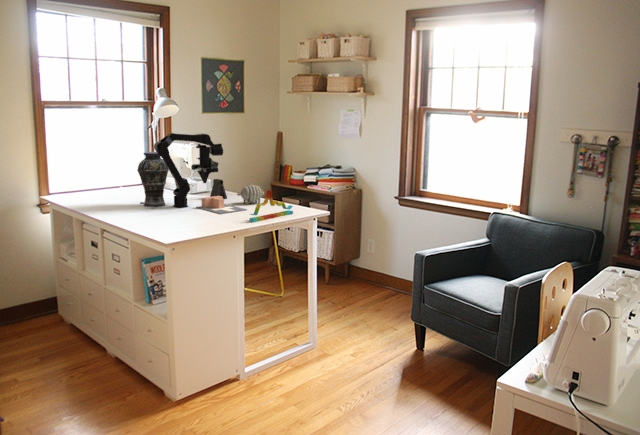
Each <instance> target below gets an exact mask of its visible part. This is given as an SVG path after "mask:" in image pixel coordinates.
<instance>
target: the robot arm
mask: <svg viewBox="0 0 640 435" xmlns="http://www.w3.org/2000/svg"><path fill="white" fill-rule="evenodd" d="M174 141H180V142H181V141H182V142H195V143H197V145H196V146H195V148H196V149H198V151H199V152H198V155H199V157H197V160H199V163H195V164H194V163H193V164H191V170H197V171H196V172H197V173H198V175H199V176H200V179H201V181H202V183H203V184H207V182H208V178H209V175H210V174H211V173H219V167H218V166H219V163H220V162H217V161H216V160H215V161H214V160H213V158H212V157H213V156H214V157H215V156H223V154H224V149H223V145H222V143H214V142H213V141H212V139H211V136H210V135H209V134H208V133H196V134H190V133H189V134H185V133H173V132H169V133H168V134H166V135H165V136H164V137H163V138H161V139H160V140H158V141H156V142H154V144H153V149H154V152H157V153H158V154H159V155H160V158H161V159H163V160H164V162H165V164H166V165H167V167H168V169H169V171H168V172H170V175H171V176H172V178H173V179H174V184H175V187H176V188H175V189H174V190H173V191H172V193H173V195H174V196H173V205H172V207H174V208H177V209H180V208H188V207H189V205H188V193H189V192H190V191H191V187H190V186H191V184H190V182H188V179H187V178H185V177H182V175H181V173H180V172H179V170H178V168H177V167H176V164H175V163H174V161H173V159H172V157H171V155H170V152H169V147H170V146H171V145H172V144H173V143H174ZM211 156H212V157H211Z"/></svg>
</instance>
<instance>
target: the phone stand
mask: <svg viewBox="0 0 640 435" xmlns="http://www.w3.org/2000/svg"><path fill="white" fill-rule="evenodd" d="M213 196H223V199H224V200H227V199H228V197H227V196H228V195H227V192H226V189H225V187H224V180H223V179H220V178H213V182H212V188H211V191H210V194H209V197H213Z"/></svg>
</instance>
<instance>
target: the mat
mask: <svg viewBox="0 0 640 435" xmlns="http://www.w3.org/2000/svg"><path fill="white" fill-rule="evenodd" d="M196 209H200V210H203V211H207V212H211V213H215V214H218V215H223V214H225V215H226V214H231V213H237V212H243V211H244V212H245V211H248V209H247V208H243V207H239V206H234V205H230V204H227V203H224V208H215V207H206V208H205V207H202V205H200V206H196Z"/></svg>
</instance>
